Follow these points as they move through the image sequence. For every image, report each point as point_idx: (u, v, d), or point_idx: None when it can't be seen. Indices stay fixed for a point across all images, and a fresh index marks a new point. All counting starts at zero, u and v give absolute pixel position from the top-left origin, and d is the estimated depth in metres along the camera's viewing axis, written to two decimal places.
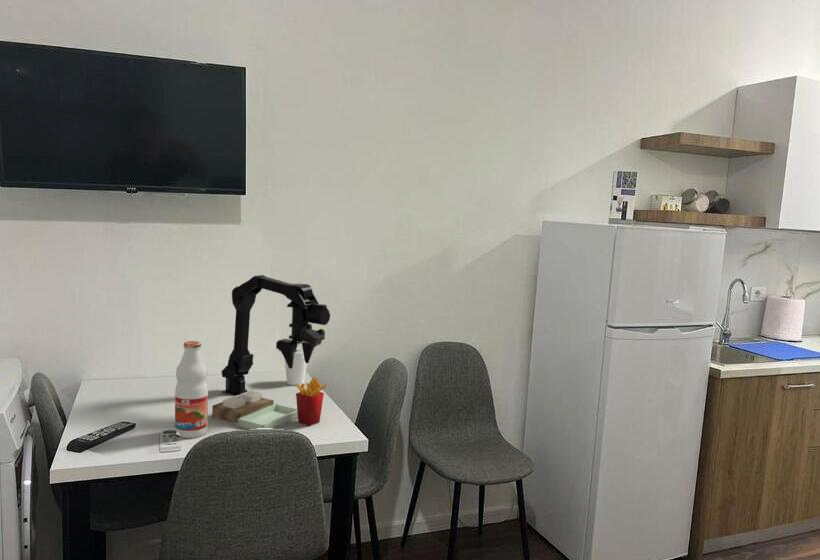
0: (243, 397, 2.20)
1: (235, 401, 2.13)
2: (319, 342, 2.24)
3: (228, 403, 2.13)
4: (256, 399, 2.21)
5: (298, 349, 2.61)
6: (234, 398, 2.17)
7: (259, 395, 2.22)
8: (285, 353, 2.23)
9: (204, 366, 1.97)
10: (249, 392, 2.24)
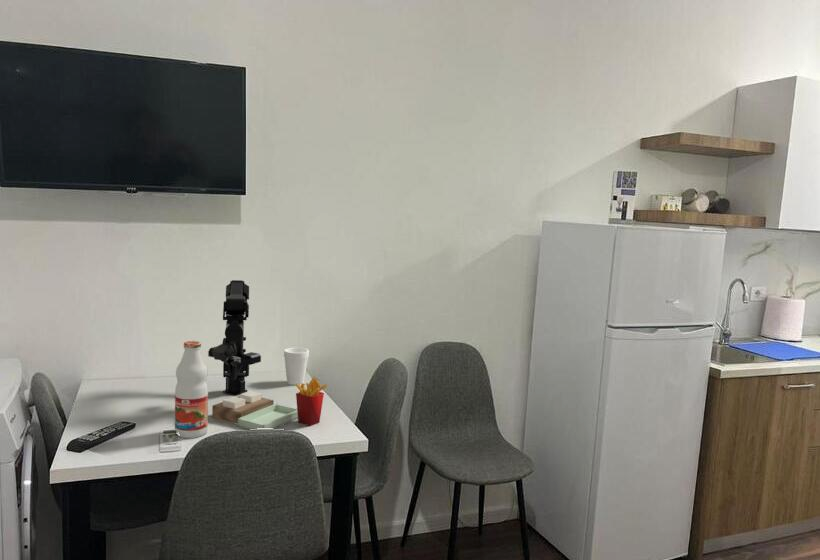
0: (243, 397, 2.20)
1: (235, 401, 2.13)
2: (219, 357, 2.17)
3: (228, 403, 2.13)
4: (256, 399, 2.21)
5: (298, 349, 2.61)
6: (234, 398, 2.17)
7: (259, 395, 2.22)
8: None
9: (204, 366, 1.97)
10: (249, 392, 2.24)
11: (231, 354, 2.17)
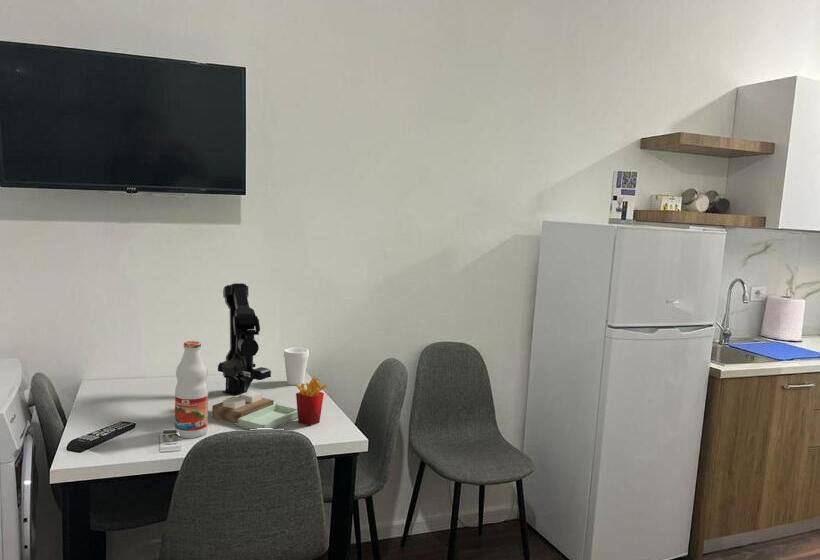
0: (243, 397, 2.20)
1: (235, 401, 2.13)
2: (228, 373, 2.15)
3: (228, 403, 2.13)
4: (256, 399, 2.21)
5: (298, 349, 2.61)
6: (234, 398, 2.17)
7: (259, 395, 2.22)
8: None
9: (204, 366, 1.97)
10: (249, 392, 2.23)
11: (241, 369, 2.15)
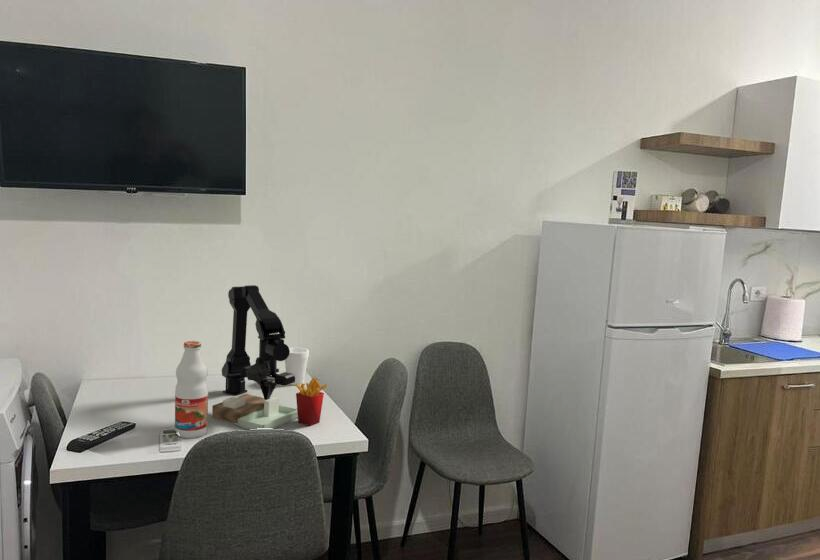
0: (266, 406, 2.17)
1: (235, 401, 2.13)
2: (252, 378, 2.11)
3: (228, 403, 2.13)
4: None
5: (298, 349, 2.61)
6: (234, 398, 2.17)
7: None
8: None
9: (204, 366, 1.97)
10: (275, 402, 2.19)
11: (265, 374, 2.11)
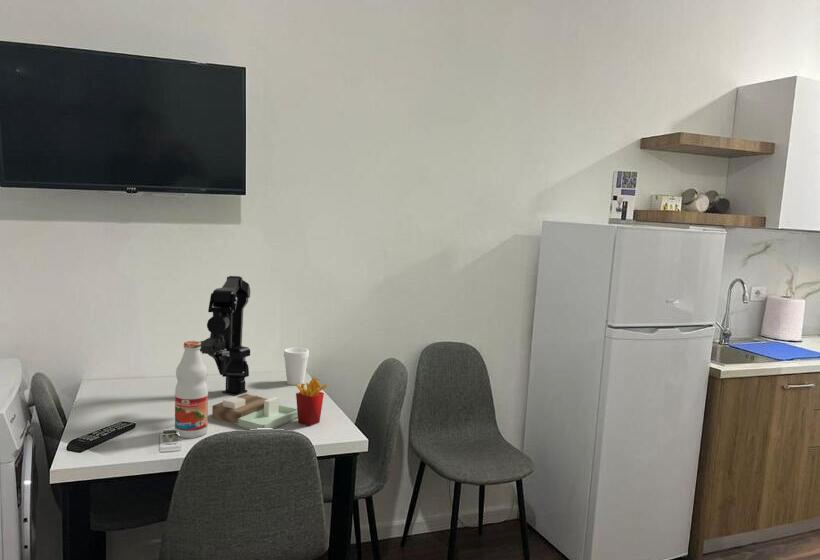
0: (266, 406, 2.17)
1: (235, 401, 2.13)
2: (206, 351, 2.10)
3: (228, 403, 2.13)
4: None
5: (298, 349, 2.61)
6: (234, 398, 2.17)
7: None
8: None
9: (204, 366, 1.97)
10: (275, 402, 2.19)
11: (219, 348, 2.09)
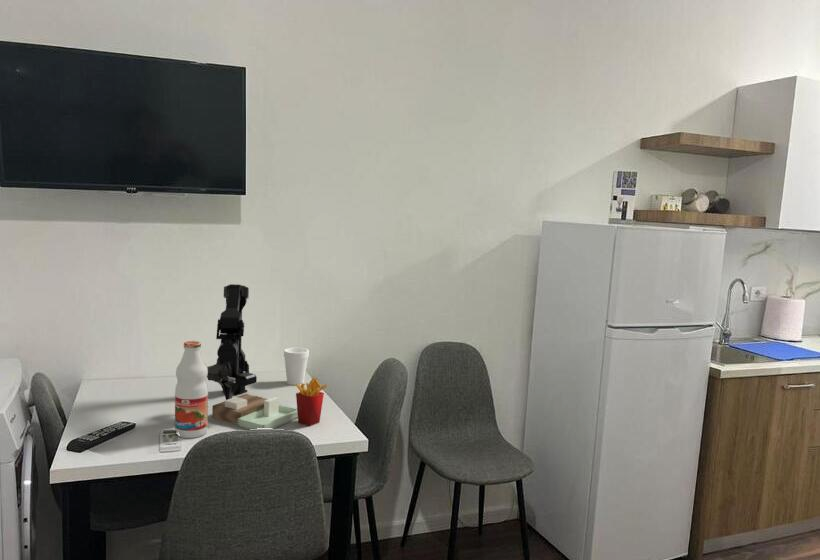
0: (266, 406, 2.17)
1: (237, 402, 2.13)
2: (212, 378, 2.08)
3: (230, 404, 2.13)
4: None
5: (298, 349, 2.61)
6: (236, 398, 2.16)
7: None
8: None
9: (204, 366, 1.97)
10: (275, 402, 2.19)
11: (225, 375, 2.08)
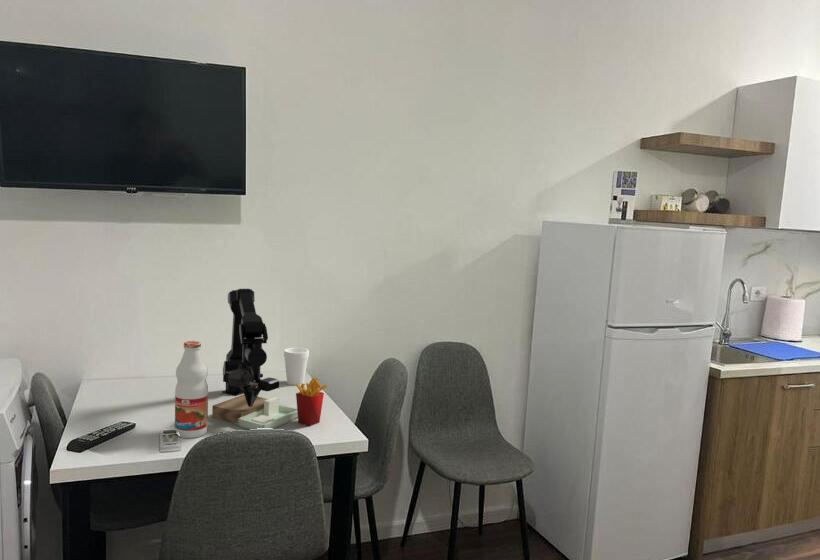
0: (266, 406, 2.17)
1: None
2: (235, 384, 2.04)
3: None
4: None
5: (298, 349, 2.61)
6: None
7: None
8: None
9: (204, 366, 1.97)
10: (275, 402, 2.19)
11: (248, 380, 2.03)
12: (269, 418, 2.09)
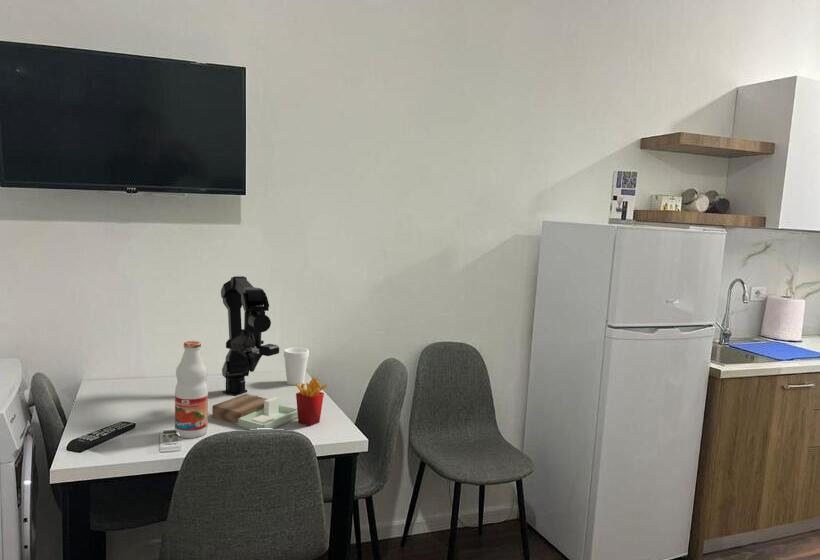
0: (266, 406, 2.17)
1: None
2: (237, 349, 2.15)
3: None
4: None
5: (298, 349, 2.61)
6: None
7: None
8: None
9: (204, 366, 1.97)
10: (275, 402, 2.19)
11: (250, 345, 2.15)
12: (269, 418, 2.09)
